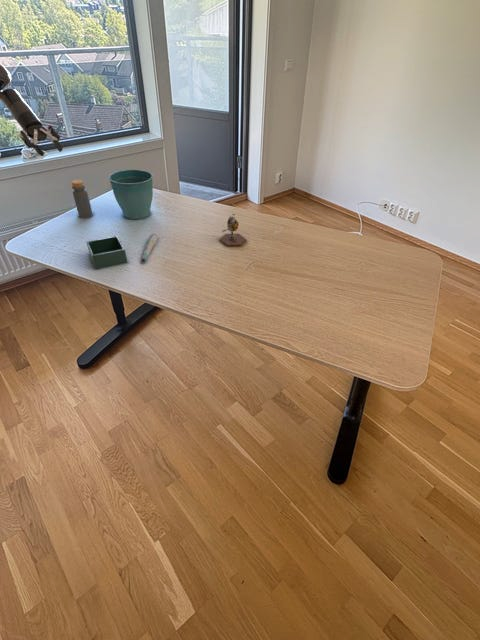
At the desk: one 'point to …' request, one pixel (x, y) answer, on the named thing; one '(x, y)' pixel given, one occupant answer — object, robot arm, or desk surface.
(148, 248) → the pen
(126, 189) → the flower pot
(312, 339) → the desk surface
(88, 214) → the bottle
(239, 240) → the brown figurine on base
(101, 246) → the green open box
